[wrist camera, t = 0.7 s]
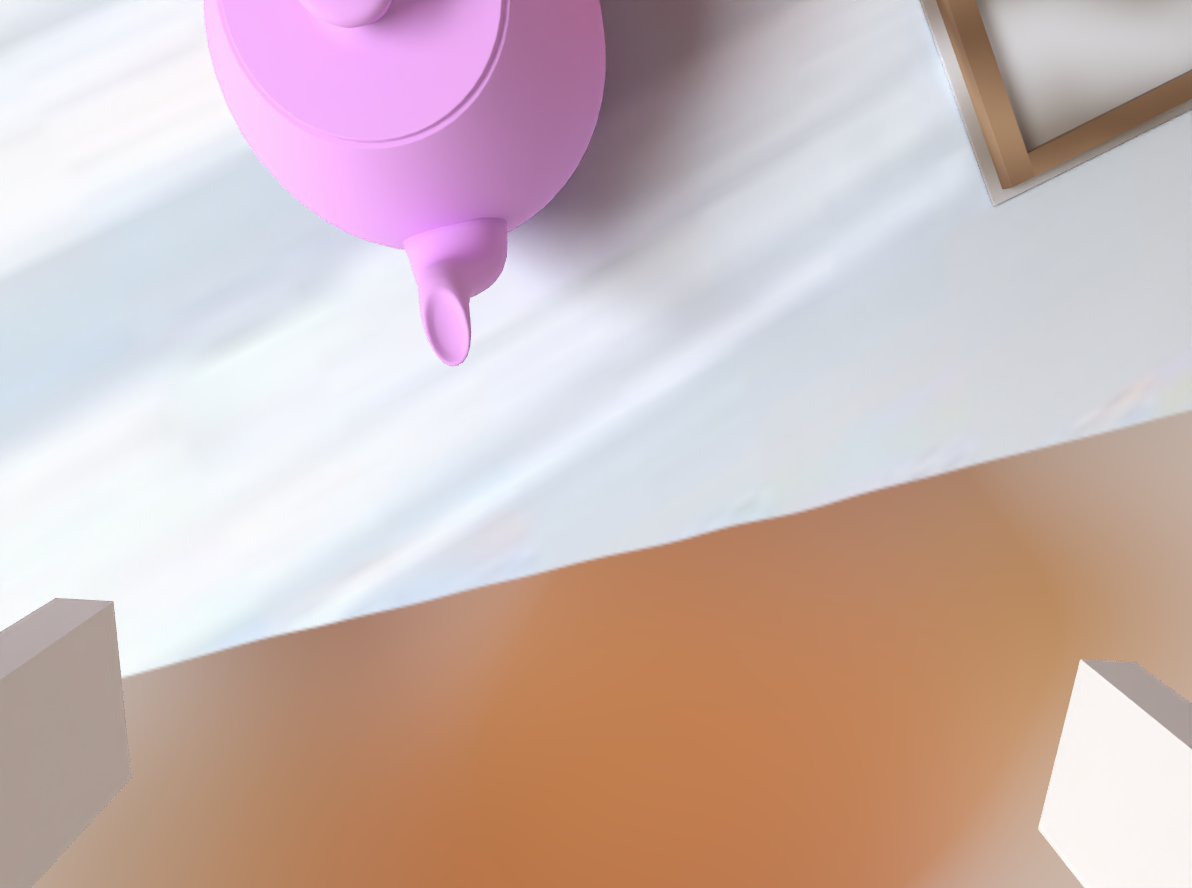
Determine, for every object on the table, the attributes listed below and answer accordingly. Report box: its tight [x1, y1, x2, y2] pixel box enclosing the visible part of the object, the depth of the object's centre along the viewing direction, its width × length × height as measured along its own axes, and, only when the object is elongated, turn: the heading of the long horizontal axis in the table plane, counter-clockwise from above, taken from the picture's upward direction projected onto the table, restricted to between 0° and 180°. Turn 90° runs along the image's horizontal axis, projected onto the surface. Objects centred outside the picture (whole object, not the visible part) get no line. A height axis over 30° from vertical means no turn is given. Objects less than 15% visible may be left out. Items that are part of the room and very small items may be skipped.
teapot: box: [204, 0, 606, 366], centre depth 25 cm, size 20×14×12 cm
